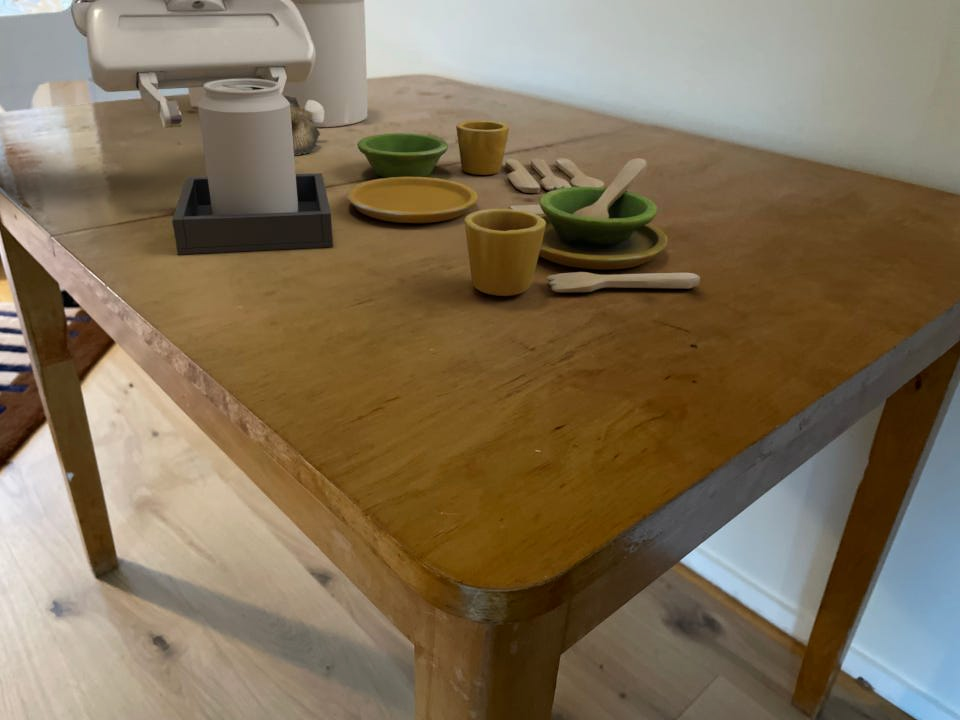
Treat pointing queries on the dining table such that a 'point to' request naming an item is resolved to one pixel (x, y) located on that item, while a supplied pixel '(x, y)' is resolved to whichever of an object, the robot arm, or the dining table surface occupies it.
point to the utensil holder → (335, 61)
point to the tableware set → (519, 213)
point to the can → (248, 147)
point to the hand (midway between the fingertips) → (226, 120)
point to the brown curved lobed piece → (305, 124)
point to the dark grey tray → (252, 222)
